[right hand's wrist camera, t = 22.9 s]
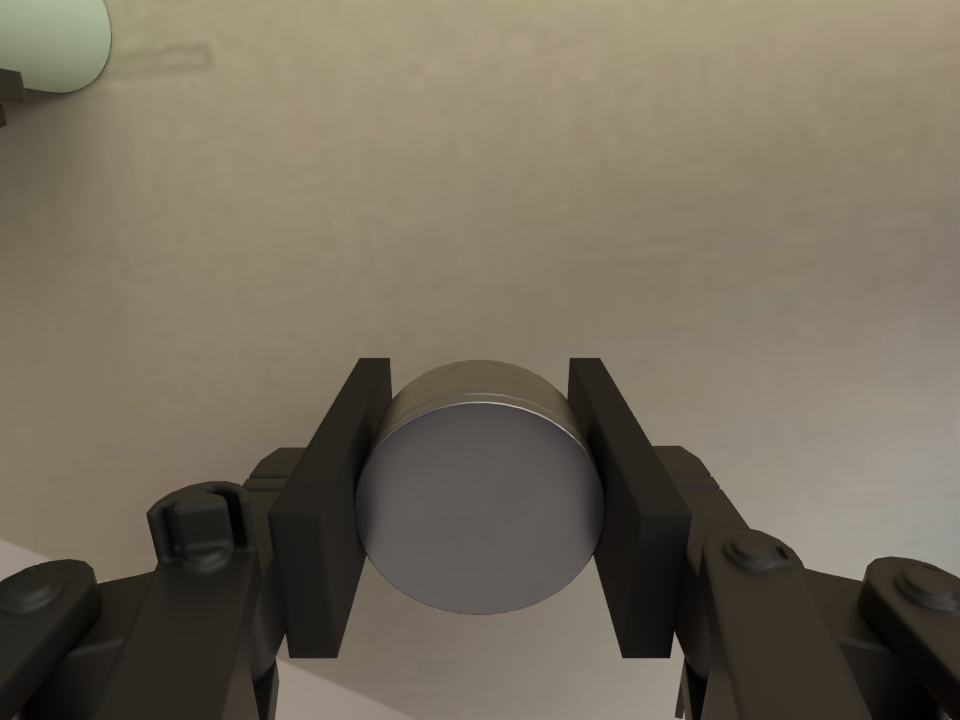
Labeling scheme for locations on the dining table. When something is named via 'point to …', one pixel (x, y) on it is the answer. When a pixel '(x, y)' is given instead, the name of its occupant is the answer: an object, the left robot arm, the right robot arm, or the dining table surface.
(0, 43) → the pale green bottle
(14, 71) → the left robot arm
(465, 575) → the lid
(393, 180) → the dining table surface
